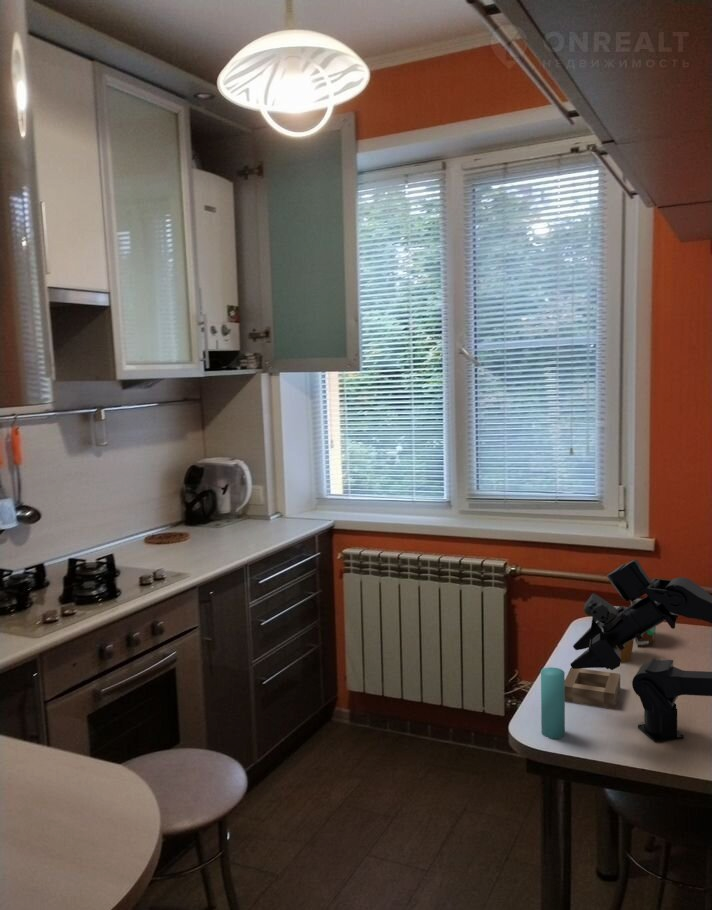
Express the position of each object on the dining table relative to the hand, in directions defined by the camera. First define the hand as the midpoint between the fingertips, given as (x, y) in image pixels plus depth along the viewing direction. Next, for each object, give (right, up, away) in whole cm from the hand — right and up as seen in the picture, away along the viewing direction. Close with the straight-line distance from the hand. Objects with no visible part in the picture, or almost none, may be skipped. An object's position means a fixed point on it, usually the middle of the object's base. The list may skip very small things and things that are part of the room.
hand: (573, 657), depth 152 cm
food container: (+33, -8, +43) cm, 55 cm away
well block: (+8, -12, +13) cm, 20 cm away
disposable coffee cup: (+21, -10, +33) cm, 41 cm away
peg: (-5, -15, -3) cm, 16 cm away
